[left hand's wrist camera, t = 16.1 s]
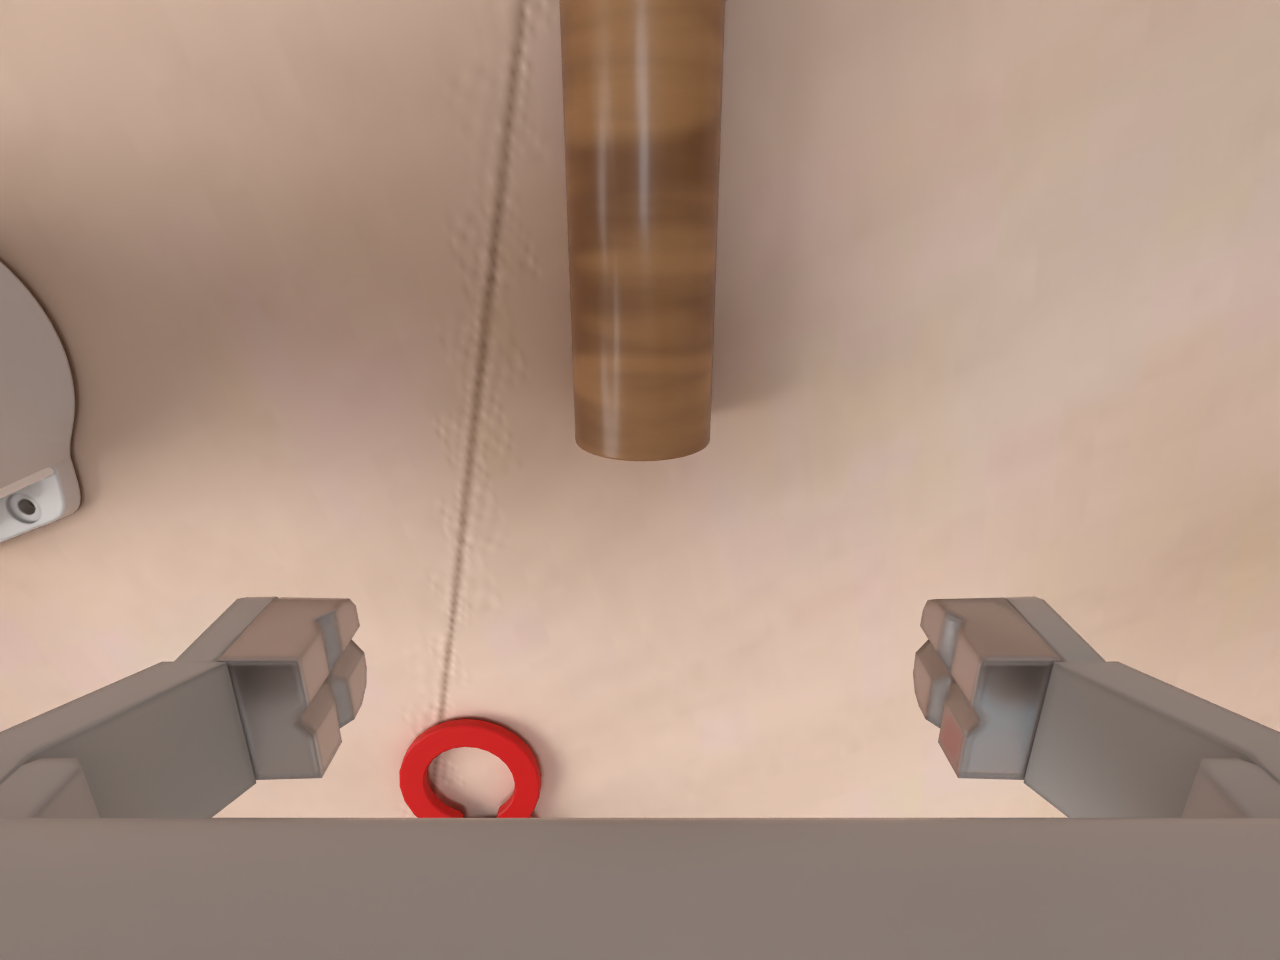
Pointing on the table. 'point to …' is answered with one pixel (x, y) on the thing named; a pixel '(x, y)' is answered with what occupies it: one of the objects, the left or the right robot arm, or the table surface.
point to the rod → (642, 220)
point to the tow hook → (477, 737)
